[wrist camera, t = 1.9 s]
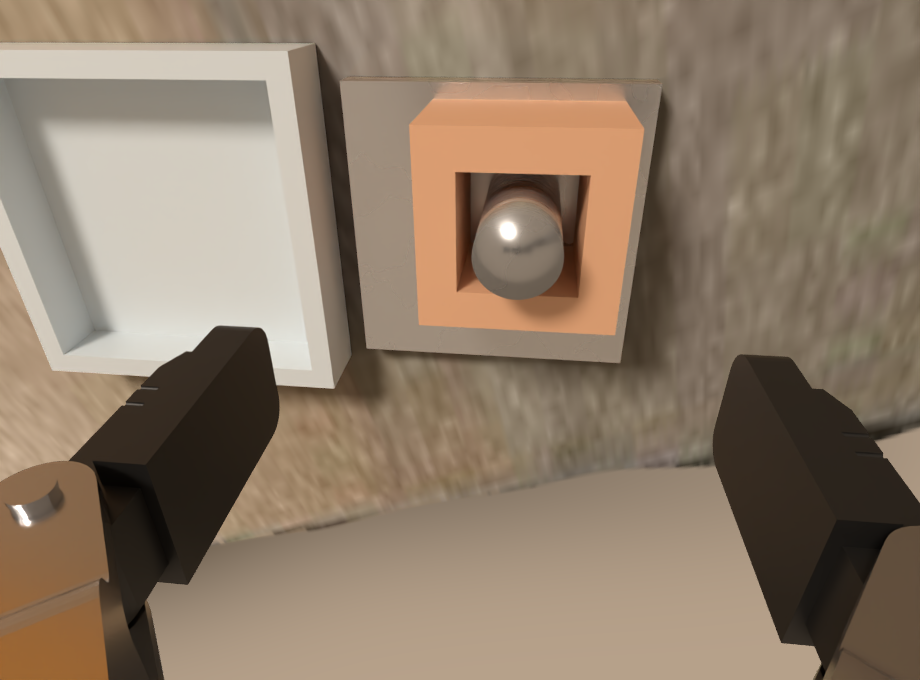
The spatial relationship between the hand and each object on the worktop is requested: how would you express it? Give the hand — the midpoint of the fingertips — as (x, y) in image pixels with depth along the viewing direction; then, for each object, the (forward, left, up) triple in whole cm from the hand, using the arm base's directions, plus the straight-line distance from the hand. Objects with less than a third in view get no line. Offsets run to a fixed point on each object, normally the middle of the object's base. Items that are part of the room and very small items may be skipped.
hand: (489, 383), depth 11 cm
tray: (+13, +2, -13) cm, 18 cm away
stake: (+1, +2, -13) cm, 13 cm away
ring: (0, 0, -12) cm, 12 cm away
